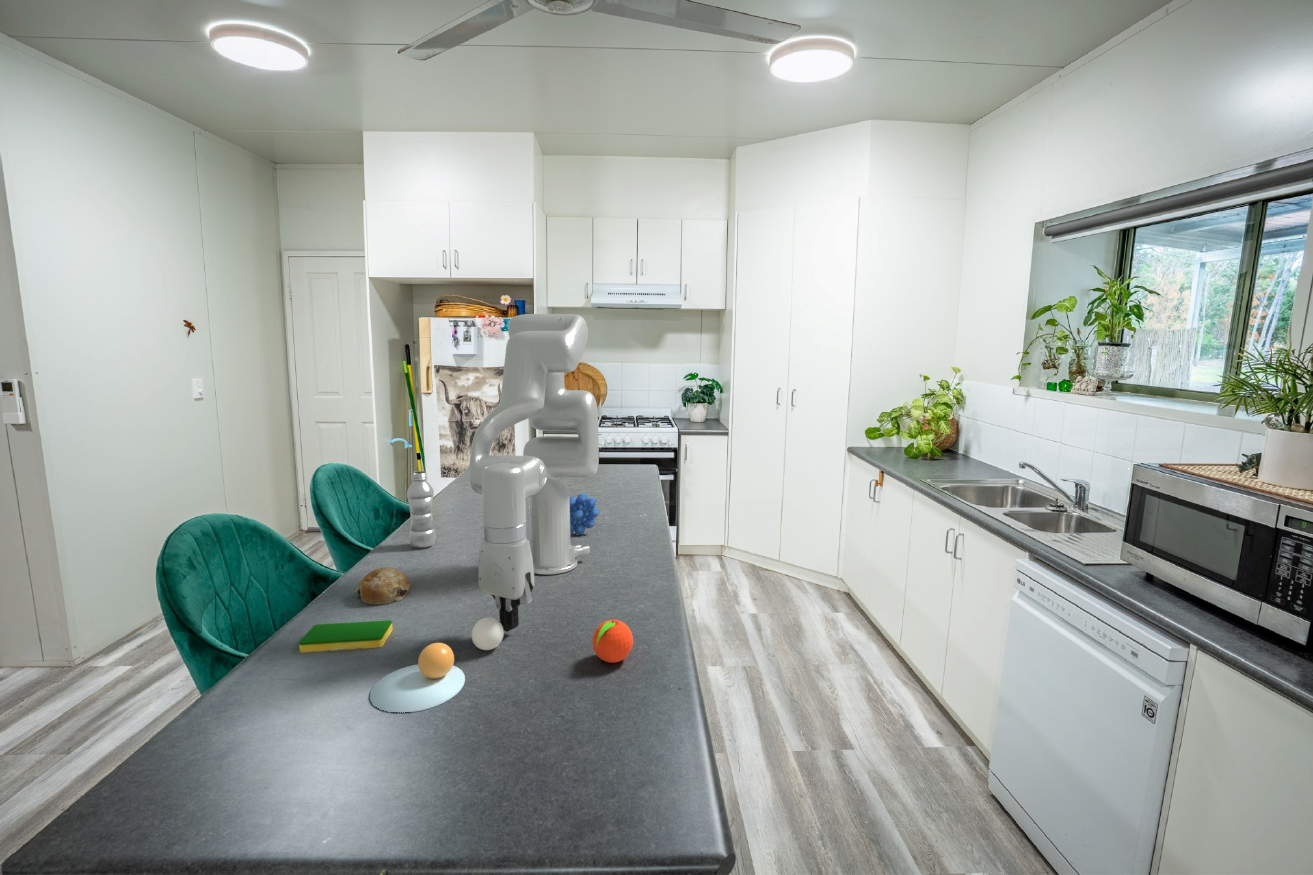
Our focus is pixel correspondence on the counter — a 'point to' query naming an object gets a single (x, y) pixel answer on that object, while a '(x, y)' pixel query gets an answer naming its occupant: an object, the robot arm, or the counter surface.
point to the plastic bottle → (421, 511)
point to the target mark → (415, 690)
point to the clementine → (612, 641)
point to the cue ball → (487, 633)
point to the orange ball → (436, 660)
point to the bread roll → (383, 586)
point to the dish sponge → (346, 636)
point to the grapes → (582, 513)
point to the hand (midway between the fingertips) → (509, 627)
